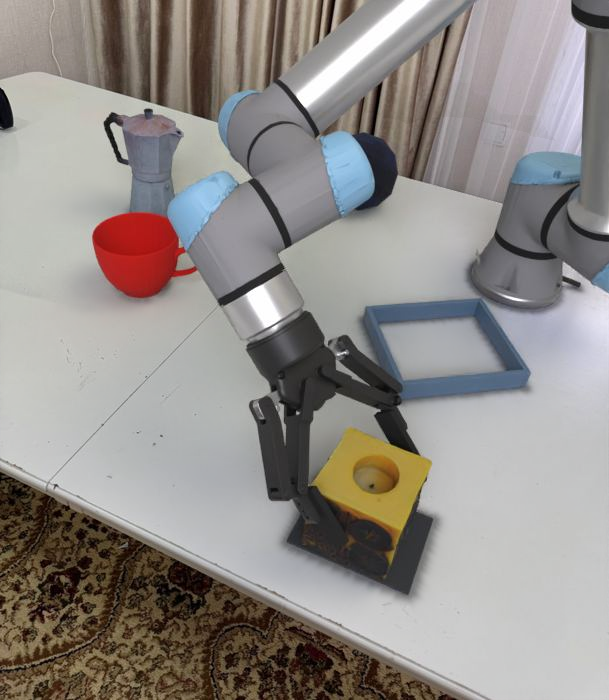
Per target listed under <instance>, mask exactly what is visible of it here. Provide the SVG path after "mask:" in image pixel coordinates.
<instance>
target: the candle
mask: <svg viewBox="0 0 609 700" xmlns="http://www.w3.org/2000/svg"><path fill="white" fill-rule="evenodd" d="M432 465H433V462H432V460H431V459H428V458H426V457H424V456H423V455H421V456H419V455H416V454H413V453H411V452H408V451H405V450H403V449H400V448H398V447H395V446H393V445H391V444H390V443H389V442H386V441H384V440H381V439H378V438H376V437H373V436H371V435H369V434H367V433H365V432H363V431H361V430H359V429H356V428H354V427H352V426H349V427H347V428H346V429H345V430H344V433H343V435H342V437H341V440H340V442H339V444H338V445H336V448H335V449H334V451H333V452H332V454H331V456H330V457H328V458H327V461H326V463H325V465H324V466H323V467H322V468H321V470H320V471H319V472H318V474H317V476H315V478H314V480H313V481H312V483H311V484H310V486H317V487H318V489H319V491H320V492H321V494H322V496H323V497H324V499H325V501H326V502H327V504H328V506H329V507H330V509H331V511H332V512H333V514H334V516H335V517H336V519H337V521H338V522H339V524H340V525H341V527H342V529H343V530H344V532H345V534H346V535H347V537H348V539H349V541H348V543H347V544H346V545H330V544H327V543H326V541H325V539H324V538H323V536H322V534H321V533H320V531H319V530H318V528H317V526H316V525H315V523H308V522H306V521H304V523H303V526H304V529H303V532H302V537H301V540H300V542H301V543H302V544H303V545H308V546H309V547H310V548H312V549H314V550H317V551H318V552H320V553H321V554H323V555H326V556H328V557H330V558H332V559H334V560H336V561H338V562H341V563H344V564H345V565H346V566H350V567H352V568H353V569H357V570H359V571H362V572H364V573H366V574H368V575H370V576H372V577H374V578H375V579H376V580H380V581H385V580H386V579H387V575H388V573H389V572H390V569H391V568H392V566H393V564H394V561H395V559H396V556H397V555H398V553H399V549H400V547H401V545H402V543H403V539H405V537H406V535H407V533H408V530H409V526H410V524H411V522H412V520H413V519H414V517H415V513H416V512H417V510H418V507H419V504H420V499H421V494H422V490H423V487H424V484H425V483H426V482H427V481H428V475H429V472H430V470H431V468H432Z"/></svg>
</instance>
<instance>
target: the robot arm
mask: <svg viewBox="0 0 609 700" xmlns="http://www.w3.org/2000/svg"><path fill="white" fill-rule="evenodd" d="M478 1H479V0H366V1H365V2H364V3H362V4H361V6H359V7H358V8H357V9H355V11H353V12H352V13H351V14H350V15H349V16H348V17H346V19H344V20H343V21H342V22H341V23H340V24H339V25H338V26H337V27H335V28H334V29H333V30H332V31H331V32H329V33H328V34H327V35H326V36H325V37H324V38H323V39H321V40H320V41H319V42H318V43H317V44H316V45H315V46H314V47H313V48H311V49H310V50H309V51H307V52H306V54H305V55H303V56H302V57H301V58H300V59H299V60H298V61H297V62H295V63H294V64H293V65H292V66H290V68H288V69H287V70H286V71H285V72H284V73H282V74H281V75H280V76H279V77H278V78H277V79H275V81H273V82H272V83H271V84H270V85H269V86H267V87H266V88H265V89H264V90H263V91H258V90H254V89H247V90H246V89H245V90H241V91H239V92H236V93H233V94H232V95H231V96H229V98H227V99H226V101H225V102H224V103H223V105H222V107H221V109H220V112H219V114H218V117H217V118H218V119H217V129H218V135H219V137H220V140H221V142H222V143H223V145H224V147H225V148H226V149H227V150H228V152H229V155H230V156H231V158H232V160H234V161H235V162H236V163H238V164H239V165H240V166H241V167H242V169H244V171H245V172H246V173H247V174H248V175H249V176H250V177H251V178H250V179H248V180H246V181H244V182H242V183H239V181H238V180H236V179H235V178H234V176H233V175H232V174H231V173H230V172H228V171H226V170H219V171H217V172H214V173H212V174H210V175H209V176H206V177H203V178H201V179H199V180H197V181H195V182H194V183H192V184H191V185H189V186H187V187H186V188H185V189H182V191H180V192H179V193H177V194H176V195H175V197H174V198H173V199H172V200H171V202H170V203H169V205H168V210H167V216H168V219H169V221H170V222H171V224H172V226H173V228H174V230H175V232H176V234H177V235H178V237H179V242H180V243H181V245H182V247H184V249H185V250H186V252H187V253H186V254H187V255H188V257H189V259H190V260H191V262H192V263H193V265H194V266H195V267H196V268H197V272H198V273H199V275H200V276H201V278H202V280H203V281H204V283H205V285H206V286H207V288H208V289H209V291H210V293H211V294H212V296H213V297H214V300H216V303H217V304H218V306H219V307H220V309H221V310H222V312H223V314H224V315H225V318H226V319H227V321H228V322H229V324H230V326H231V327H232V328H233V330H234V332H235V334H236V336H237V337H238V338H239V340H240V341H242V342H243V341H247V342H248V343H246V346H245V351H246V353H247V354H248V356H249V358H250V360H251V361H252V363H253V364H254V366H255V368H256V369H257V371H258V373H259V374H260V376H262V377H263V378H264V379H265V380H266V381H267V382H268V383H267V384H268V385H269V389H270V392H269V393H267V394H264V396H262V397H259V398H255V399H251V400H250V401H249V402H248V409H249V411H250V413H251V415H252V418H253V419H254V421H255V424H256V427H257V434H258V440H259V447H260V454H261V461H262V467H263V472H264V473H263V474H264V478H265V484H266V485H265V486H266V492H267V493H266V494H267V498H268V500H269V501H271V502H289V501H291V500H292V502H293V504H294V505H295V507H296V509H297V510H298V512H299V514H300V515H302V517H303V518H304V520H305V521H306V522H308V523H315V525H316V526H317V528H318V530H319V531H320V533H321V534H322V536H323V538H324V539H325V541H326V543H327V544H330V545H346V544H347V543H348V541H349V539H348V537H347V535H346V534H345V532H344V530H343V529H342V527H341V525H340V524H339V522H338V521H337V519H336V517H335V516H334V514H333V512H332V511H331V509H330V507H329V506H328V504H327V502H326V501H325V499H324V497H323V496H322V494H321V492H320V491H319V489H318V487H317V486H311V485H309V484H310V483H309V482H310V480H309V478H310V448H311V447H310V446H311V445H310V442H311V425H312V423H313V421H314V412H318V411H319V410H320V409H322V408H323V406H324V405H325V403H326V402H327V401H329V400H331V399H333V398H334V397H336V396H337V394H338V395H341V396H343V397H346V398H348V399H351V400H353V401H356V402H358V403H361V404H363V405H366V406H368V407H371V408H372V409H376V410H379V411H376V413H374V414H373V418H374V419H375V421H376V422H377V425H378V426H379V428H380V430H381V432H382V434H383V435H384V437H385V438H386V440H387V441H388V442H387V443H388V444H391V445H393V446H395V447H398V448H400V449H403V450H405V451H408V452H411V453H413V454H416V455H419V456H422V455H421V454H420V452H419V450H418V448H417V446H416V445H415V443H414V441H413V439H412V438H411V436H410V434H409V433H408V430H409V427H408V423H407V422H406V420H405V417H404V416H403V414H402V413H401V410H400V409H399V406H401V405H402V403H403V400H402V399H401V397H400V396H399V395H398V393H401V392H402V391H403V386H402V384H401V383H400V382H398V381H397V380H396V379H395V378H393V377H392V376H391V375H390V374H388V373H387V372H386V371H385V370H383V367H382V366H379V365H378V364H377V363H376V362H375V361H373V360H372V359H371V358H370V357H368V356H367V355H366V354H365V353H363V352H362V351H361V350H360V349H359V348H358V347H357V346H356V344H355V343H354V342H353V340H352V339H351V337H350V336H349V335H348V334H342V335H339V336H336V337H334V338H331V339H329V340H328V341H327V345H326V344H325V341H326V337H325V335H324V332H323V331H322V329H321V327H320V325H319V324H318V322H317V320H316V319H315V316H314V315H313V313H312V312H311V311H309V310H307V309H305V310H304V309H303V307H304V306H305V302H306V300H305V298H304V297H303V296H302V293H301V292H300V290H299V289H298V287H297V286H296V284H295V282H294V280H293V278H292V277H291V275H290V273H289V272H288V270H287V268H286V267H285V265H284V264H283V262H282V261H281V258H280V256H279V254H280V253H281V252H283V251H285V250H287V249H288V248H291V246H293V245H295V244H297V243H298V242H301V241H302V240H304V239H306V238H308V237H310V236H311V235H313V234H315V233H316V232H318V231H320V230H322V229H323V228H325V227H327V226H329V225H330V224H332V223H334V222H336V221H339V220H340V219H341V218H342V219H344V218H345V217H347V214H349V213H351V212H352V211H353V210H354V209H355V208H356V207H358V206H359V205H361V204H362V203H364V202H365V201H367V200H368V199H369V198H370V197H371V196H372V194H373V192H374V187H375V181H374V176H373V172H372V168H371V166H370V163H369V161H368V159H367V156H366V155H365V153H364V151H363V149H362V148H361V146H360V145H359V143H358V142H357V141H356V140H355V138H354V137H353V136H352V135H353V134H352V135H351V134H350V133H349V132H347V131H346V130H335V131H334V132H331V133H329V134H327V135H321V134H323V133H324V132H325V131H327V129H328V128H329V127H330V126H332V125H333V124H334V123H335V122H337V121H338V120H339V119H340V118H341V117H342V116H343V115H345V114H346V113H347V112H348V111H349V110H351V109H352V108H353V107H354V106H355V105H356V104H358V103H359V102H360V101H361V100H362V99H364V98H365V97H366V96H367V95H368V94H370V93H371V92H372V91H373V90H374V89H375V88H377V87H378V86H379V85H381V84H382V82H384V81H385V80H386V79H387V78H388V77H389V76H391V75H392V74H393V73H394V72H395V71H397V70H398V69H399V68H401V66H402V65H404V64H405V63H406V62H407V61H408V60H410V58H412V57H413V56H414V55H416V54H417V53H418V52H419V51H420V50H421V49H423V48H424V47H425V46H426V45H427V44H428V43H430V42H431V41H432V40H433V39H434V38H435V37H437V36H438V35H439V34H440V33H441V32H443V31H444V30H445V29H446V28H447V27H448V26H450V25H451V24H452V23H453V22H454V21H456V20H457V19H458V18H459V17H460V16H462V14H463V13H465V12H466V11H467V10H469V8H471V7H472V6H473V5H474V4H475V3H477V2H478ZM570 14H571V17H572V19H573V20H574V21H575V22H576V23H577V24H578V25H579V26H580V27H582V28H584V29H585V41H584V42H585V43H584V44H585V45H584V67H583V68H584V69H583V92H582V98H583V99H582V116H581V117H582V119H581V120H582V121H581V144H580V145H581V147H580V155H578V154H573V153H568V152H562V151H537V152H536V151H535V152H531V153H528V154H526V155H524V156H522V157H520V159H519V160H518V162H516V165H515V168H514V170H513V172H512V175H511V177H510V178H509V182H508V185H507V189H506V192H505V196H504V199H503V203H502V206H501V208H500V209H501V210H500V212H499V215H498V216H499V217H498V219H497V223H496V227H495V230H494V234H493V236H492V238H491V239H490V240H489V242H488V243H487V245H486V246H485V247H484V248H483V250H482V251H481V253H480V254H479V251H478V249H476V250H475V257H476V259H474V262H473V265H472V268H471V272H470V277H471V281H472V283H473V285H474V286H475V287H476V289H478V291H479V292H480V293H481V294H482V295H485V296H486V297H487V298H489V299H491V300H493V301H495V302H496V303H498V304H501V305H504V306H509V307H512V308H516V309H517V308H518V309H523V310H524V309H527V310H535V309H541V308H546V307H548V306H550V305H553V304H554V303H555V302H556V301H557V300H558V298H559V296H560V294H561V291H562V289H563V283H566V284H569V285H571V286H574V287H576V288H580V287H581V286H582V283H581V282H580V281H577V280H575V279H572V278H570V277H567V276H565V275H563V273H564V272H563V271H564V269H563V267H564V263H565V264H566V265H567V266H569V267H570V268H571V269H573V270H574V271H575V272H576V273H578V274H579V275H580V276H582V277H583V278H584V279H585V280H587V281H588V282H589V283H590V285H592V286H595V287H597V288H599V289H600V290H602V291H604V292H605V293H606V294H609V0H570ZM320 135H321V137H319V136H320ZM318 137H319V139H318V140H316V139H317V138H318ZM337 361H338V362H339V363H340V365H342V366H343V367H345V368H346V369H348V370H349V371H350V372H351V373H353V374H354V375H355V376H357V378H359V379H360V380H361V381H359V380H357V379H354V378H353V376H352V375H350V374H348V373H346V372H343V371H340V370H338V369H337ZM362 381H363V382H362ZM279 404H280V405H283V417H282V418H283V419H282V420H283V422H282V420H281V416H280V413H279V412H280V411H281V406H280V405H279ZM297 412H298V414H297ZM282 423H283V424H284V425H285V435H284V429H283V424H282Z"/></svg>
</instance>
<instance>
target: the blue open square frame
mask: <svg viewBox="0 0 609 700" xmlns="http://www.w3.org/2000/svg"><path fill="white" fill-rule="evenodd" d="M460 317H475V318H476V321H477V322H478V324H479V325H480V327H481V329H482V330H483V332H484V334H485V335H486V336H487V338H488V340H489V342H490V344H491V345H492V346H493V347H494V349H495V351H496V352H497V354H498V355H499V357H500V358H501V360H502V362H503V363H504V365H505V367H506V368H507V370H502V371H492V372H491V371H489V372H481V373H469V374H459V375H448V376H438V377H427V378H418V379H406V380H404V379H403V376H402V374H401V372H400V370H399V367H398V365H397V362H396V361H395V358H394V356H393V354H392V352H391V350H390V346H389V345H388V342H387V341H386V338H385V335H384V334H383V331H382V329H381V326H380V325H379V323H394V322H395V323H396V322H407V321H408V322H409V321H421V320H432V319H445V318H446V319H447V318H460ZM362 322H363V324H364V327H365V329H366V332H367V334H368V336H369V339H370V341H371V343H372V346H373V348H374V351H375V353H376V355H377V358H378V360H379V362H380V366H381V368H382V369H383V370H385V371H386V372H387V373H388V374H390V375H391V376H392V377H393V378H395V379H396V380H397V381H398V382H400V383H401V384H402V386H403V391H402V392H401V393H398V395H399V396H400V397H401V399H402V401H403V400H404V401H405V400H414V399H422V398H433V397H443V396H454V395H462V394H463V395H464V394H473V393H481V392H482V393H483V392H491V391H503V390H511V389H512V390H513V389H522V388H523V389H524V388H526V386H527V384H528V382H529V379H530V376H531V374H532V371H531V370H530V368H529V366H528V365H527V364H526V362H525V361H524V360H523V358H522V356H521V355H520V353H519V351H517V349H516V348H515V346H514V344H513V343H512V341H511V340H510V339H509V337H508V336H507V334H506V332H505V331H504V329H503V327H502V326H501V325H500V324H499V322H498V320H497V319H496V317H495V316H494V314H493V313H492V312H491V310H490V308H489V307H488V305H487V303H485V301H484V299H483V298H482V297H476V298H462V299H448V300H433V301H417V302H406V303H405V302H404V303H403V302H402V303H391V304H390V303H389V304H376V305H375V304H374V305H365V307H364V312H363V319H362Z"/></svg>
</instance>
